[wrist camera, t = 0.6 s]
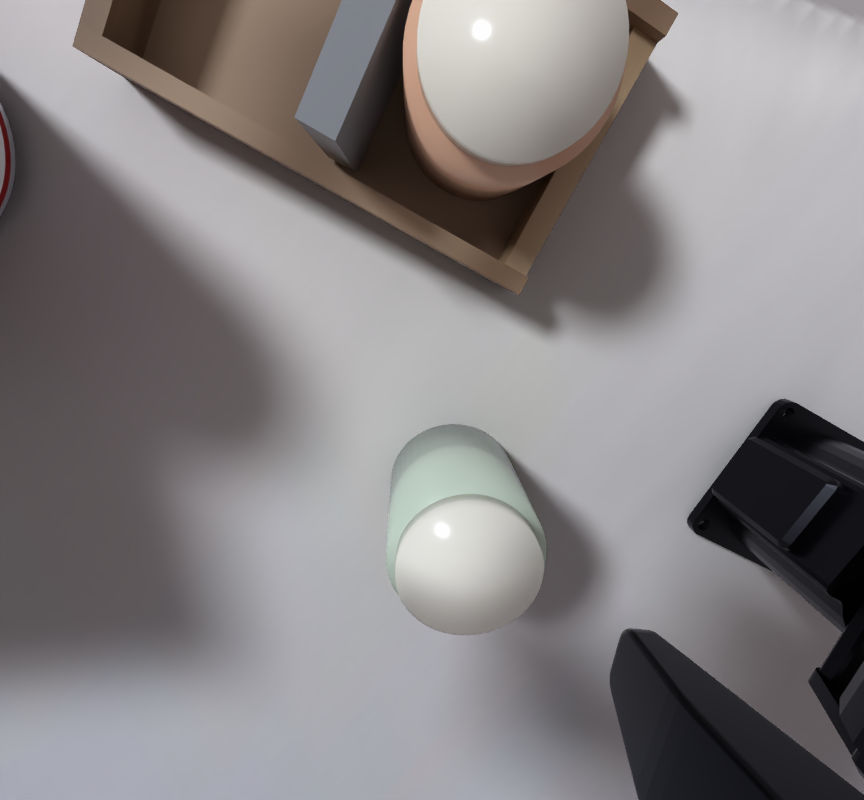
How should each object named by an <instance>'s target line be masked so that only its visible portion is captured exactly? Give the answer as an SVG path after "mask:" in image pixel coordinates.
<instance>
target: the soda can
mask: <svg viewBox="0 0 864 800" xmlns="http://www.w3.org/2000/svg"><path fill="white" fill-rule="evenodd" d="M14 178H15V149H14V141H13V137H12V132H11V128H10V125H9V122H8V119H7V116H6V113H5V111H4V108H3V106H2V104H1V102H0V215H1V214H2V212H3V210H4V209H5V207H6V205H7V202H8V200H9V198H10V195H11V192H12V188H13V183H14Z"/></svg>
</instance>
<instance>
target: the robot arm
mask: <svg viewBox="0 0 864 800" xmlns="http://www.w3.org/2000/svg"><path fill="white" fill-rule="evenodd" d="M785 409H787V412H786V414H785V415H784V416H782V413H783V411H784V410H785ZM704 519H705V520H704ZM701 520H704V522H703V523H702V524H700V525H698V524H699V522H700V521H701ZM687 523H688V526H689V527H690V528H691V529H692V530H693V531H694V532H695V533H696V534H698V535H700V536H702V537H704V538H706V539H708V540H710V541H712V542H714V543H716V544H718V545H720V546H722V547H724V548H727V549H729V550H731V551H733V552H735V553H737V554H739V555H741V556H743V557H745V558H747V559H749V560H751V561H753V562H755V563H757V564H759V565H761V566H763V567H765V568H767V569H769V570H771V571H773V572H774V573H776V574H777V575H778V576H779V577H780V578H781V579H782V580H783V581H785V582H786V583H787V584H788V585H789V586H790V587H791V588H793V589H794V590H795V591H796V592H797V593H798V594H799V595H800V596H802V597H803V598H804V599H805V600H806V601H807V602H808V603H810V604H811V605H812V606H813V607H814V608H815V609H816V610H817V611H819V612H820V613H821V614H822V615H823V616H824V617H825V618H827V619H828V620H829V621H830V622H831V623H832V624H833V625H834V626H836V627H837V628H838V629H839V630H840V631H841V632H842V634H841V636H840V637H839V639H838V641H837V642H836V644H835V645H834V647H833V649H832V650H831V652H830V654H829V655H828V657H827V658H826V660H825V662H824V663H823V665H822V666H821V668H816V669H815V671H814V672H813V674H812V676H811V677H810V679H809V680H808V682H809V684H810V686H811V687H812V689H813V691H814V692H815V694H816V696H817V697H818V699H819V701H820V703H821V704H822V706H823V708H824V709H825V711H826V713H827V714H828V716H829V718H830V720H831V721H832V723H833V725H834V726H835V728H836V730H837V731H838V733H839V735H840V736H841V738H842V740H843V742H844V743H845V745H846V747H847V748H848V750H849V752H850V753H851V755H852V759H853V761H854V763H855V765H856V768H857V770H858V771H859V773H860V774H861V775H862V777H863V778H864V442H863V441H861V440H859V439H857V438H856V437H854V436H852V435H850V434H849V433H847V432H845V431H844V430H842V429H840V428H838V427H837V426H835V425H833V424H831V423H830V422H828V421H826V420H825V419H823V418H821V417H819V416H818V415H816V414H814V413H812V412H811V411H809V410H807V409H806V408H804V407H802V406H800V405H799V404H797V403H795V402H792V401H790V400H787V399H780V400H778V401H776V402H774V403H773V404H772V405H771V407H770V408H769V409H768V411H767V412H766V413H765V415H764V416H763V417H762V419H761V420H760V421H759V423H758V424H757V425H756V427H755V428H754V429H753V431H752V432H751V433H750V435H749V436H748V437H747V439H746V440H745V441H744V443H743V444H742V445H741V447H740V448H739V449H738V451H737V452H736V453H735V455H734V456H733V457H732V459H731V460H730V461H729V463H728V464H727V465H726V467H725V468H724V469H723V471H722V472H721V474H720V475H719V476H718V478H717V479H716V480H715V482H714V483H713V484H712V486H711V487H710V488H709V490H708V491H707V492H706V494H705V495H704V496H703V498H702V499H701V500H700V502H699V503H698V504H697V506H696V507H695V508H694V510H693V511H692V512H691V514H690V515H689V517H688V519H687ZM610 688H611V693H612V697H613V701H614V705H615V709H616V713H617V717H618V721H619V725H620V729H621V733H622V737H623V741H624V745H625V749H626V753H627V757H628V761H629V764H630V768H631V772H632V776H633V780H634V784H635V788H636V792H637V796H638V799H639V800H864V795H863V794H862V793H861V792H859V791H858V790H857V789H855V788H854V787H853V786H852V785H850V784H849V783H848V782H846V781H845V780H844V779H843V778H841V777H840V776H839V775H837V774H836V773H835V772H834V771H832V770H831V769H830V768H829V767H827V766H826V765H825V764H823V763H822V762H821V761H820V760H818V759H817V758H816V757H814V756H813V755H812V754H811V753H809V752H808V751H807V750H805V749H804V748H803V747H802V746H800V745H799V744H798V743H796V742H795V741H794V740H793V739H791V738H790V737H789V736H788V735H786V734H785V733H784V732H782V731H781V730H780V729H779V728H777V727H776V726H775V725H773V724H772V723H771V722H770V721H768V720H767V719H766V718H764V717H763V716H762V715H761V714H759V713H758V712H757V711H755V710H754V709H753V708H752V707H750V706H749V705H748V704H747V703H745V702H744V701H743V700H741V699H740V698H739V697H738V696H736V695H735V694H734V693H732V692H731V691H730V690H729V689H727V688H726V687H725V686H723V685H722V684H721V683H720V682H718V681H717V680H716V679H714V678H713V677H712V676H711V675H709V674H708V673H707V672H706V671H704V670H703V669H702V668H700V667H699V666H698V665H697V664H695V663H694V662H693V661H691V660H690V659H689V658H688V657H686V656H685V655H684V654H682V653H681V652H680V651H679V650H677V649H676V648H675V647H674V646H672V645H671V644H670V643H668V642H667V641H666V640H665V639H663V638H662V637H661V636H659V635H658V634H657V633H655V632H653V631H650V630H641V629H626V630H624V631H623V633H622V634H621V637H620V640H619V643H618V647H617V650H616V654H615V657H614V661H613V664H612V668H611V672H610Z"/></svg>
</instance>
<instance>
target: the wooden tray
mask: <svg viewBox="0 0 864 800" xmlns="http://www.w3.org/2000/svg"><path fill="white" fill-rule="evenodd" d="M341 1H342V0H86V1H85V4H84V8H83V11H82V15H81V18H80V22H79V25H78V29H77V32H76V36H75V39H74V43H73V47H75V48H76V49H78V50H80V51H81V52H83V53H85V54H86V55H88V56H90V57H91V58H93V59H95V60H96V61H98V62H99V63H101V64H103V65H104V66H106V67H108V68H109V69H111V70H113V71H114V72H116V73H118V74H119V75H121V76H123V77H124V78H126V79H128V80H130V81H132V82H133V83H135V84H137V85H139V86H141V87H142V88H144V89H146V90H148V91H150V92H151V93H153V94H155V95H157V96H159V97H160V98H162V99H164V100H166V101H168V102H169V103H171V104H173V105H175V106H177V107H178V108H180V109H182V110H184V111H186V112H187V113H189V114H191V115H193V116H195V117H196V118H198V119H200V120H202V121H204V122H205V123H207V124H209V125H211V126H213V127H214V128H216V129H218V130H220V131H222V132H223V133H225V134H227V135H229V136H231V137H232V138H234V139H236V140H238V141H240V142H241V143H243V144H245V145H247V146H249V147H250V148H252V149H254V150H256V151H258V152H259V153H261V154H263V155H265V156H267V157H268V158H270V159H272V160H274V161H276V162H278V163H279V164H281V165H283V166H285V167H287V168H288V169H290V170H292V171H294V172H296V173H297V174H299V175H301V176H303V177H305V178H306V179H308V180H310V181H312V182H314V183H315V184H317V185H319V186H321V187H323V188H324V189H326V190H328V191H330V192H332V193H333V194H335V195H337V196H339V197H341V198H342V199H344V200H346V201H348V202H350V203H351V204H353V205H355V206H357V207H359V208H360V209H362V210H364V211H366V212H368V213H369V214H371V215H373V216H375V217H377V218H378V219H380V220H382V221H384V222H386V223H387V224H389V225H391V226H393V227H395V228H396V229H398V230H400V231H402V232H404V233H405V234H407V235H409V236H411V237H413V238H414V239H416V240H418V241H420V242H422V243H423V244H425V245H427V246H429V247H431V248H432V249H434V250H436V251H438V252H440V253H441V254H443V255H445V256H447V257H449V258H450V259H452V260H454V261H456V262H458V263H459V264H461V265H463V266H465V267H467V268H468V269H470V270H472V271H474V272H476V273H477V274H479V275H481V276H483V277H485V278H486V279H488V280H490V281H492V282H494V283H495V284H497V285H499V286H501V287H503V288H504V289H507V290H509V291H511V292H514V293H516V294H519V295H520V293H521V291H522V289H523V287H524V286H525V284H526V282H527V280H528V279H529V277H527V276H526V275H527V273H528V271H529V269H530V268H531V266H532V264H533V262H534V261H535V259H536V257H537V255H538V253H539V252H540V250H541V248H542V246H543V245H544V243H545V241H546V239H547V238H548V236H549V234H550V232H551V230H552V229H553V227H554V225H555V223H556V222H557V220H558V218H559V216H560V214H561V213H562V211H563V209H564V207H565V206H566V204H567V202H568V200H569V198H570V197H571V195H572V193H573V191H574V190H575V188H576V186H577V184H578V182H579V181H580V179H581V177H582V175H583V174H584V172H585V170H586V168H587V167H588V165H589V163H590V161H591V159H592V158H593V156H594V154H595V152H596V151H597V149H598V147H599V145H600V143H601V142H602V140H603V138H604V136H605V135H606V133H607V131H608V129H609V127H610V126H611V124H612V122H613V120H614V119H615V117H616V115H617V113H618V111H619V110H620V108H621V106H622V104H623V103H624V101H625V99H626V97H627V96H628V94H629V92H630V90H631V88H632V87H633V85H634V83H635V81H636V80H637V78H638V76H639V74H640V72H641V71H642V69H643V67H644V65H645V64H646V62H647V60H648V58H649V56H650V55H651V53H652V51H653V49H654V48H655V46H656V44H657V43H658V42H659V41H660V40H661V39H663V38H664V37H665V36H666V35H667V33H668V31H669V29H670V28H671V26H672V24H673V22H674V20H675V19H676V17H677V15H678V13H677V12H676V11H675V10H673V9H672V8H670V7H669V6H668V5H666V4H665V3H664V2H662V1H661V0H626V4H627V8H628V19H629V44H628V52H627V59H626V64H625V72H624V76H623V81H622V85H621V89H620V92H619V94H618V97H617V100H616V103H615V105H614V107H613V109H612V111H611V113H610V115H609V118H608V119H607V121H606V123H605V124H604V126H603V127H602V129H601V130H600V132H599V133H598V134H597V136H596V137H595V138H594V139H593V141H592V142H591V143H590V144H589V145H588V146H587V147H586V148H585V149H584V150H583V151H582V152H581V153H580V154H579V155H578V156H576V157H575V158H574V159H572V160H571V161H570V162H568V163H567V164H565V165H563V166H562V167H560V168H558V169H556V170H555V171H553V172H551V173H549V174H547V175H545V176H543V177H541V178H539V179H538V180H536V181H534V182H532V183H530V184H528V185H526V186H524V187H522V188H520V189H519V190H517V191H515V192H513V193H511V194H509V195H506V196H504V197H501V198H497V199H493V200H486V201H472V200H466V199H462V198H459V197H456V196H453V195H451V194H449V193H447V192H445V191H443V190H442V189H440V188H439V187H437V186H436V185H435V184H434V183H433V182H432V181H431V180H429V179H428V177H427V176H426V175H425V174H424V173H423V172H422V170H421V169H420V167H419V166H418V164H417V163H416V161H415V159H414V157H413V155H412V153H411V150H410V147H409V144H408V141H407V136H406V132H405V123H404V90H403V71H402V73H401V75H400V78H399V80H398V82H397V84H396V87H395V89H394V91H393V93H392V96H391V98H390V100H389V102H388V104H387V107H386V109H385V111H384V113H383V116H382V118H381V120H380V122H379V125H378V127H377V129H376V131H375V133H374V136H373V138H372V140H371V142H370V145H369V147H368V149H367V151H366V154H365V156H364V158H363V160H362V162H361V165H360V167H359V169H358V171H357V173H355V172H354V171H352V170H350V169H348V168H347V167H345V166H343V165H341V164H340V163H338V162H336V161H334V160H333V159H331V158H329V157H328V156H327V155H326V154H325V153H324V151H323V150H322V149H321V148H320V147H319V146H318V144H317V143H316V142H315V141H314V140H313V139H312V137H311V136H310V135H309V134H308V133H307V132H306V130H305V129H304V128H303V127H302V126H301V125H300V123H299V122H298V121H297V120H296V119H295V118H294V117H295V115H296V112H297V110H298V107H299V105H300V102H301V100H302V97H303V95H304V92H305V90H306V87H307V85H308V82H309V80H310V78H311V75H312V73H313V70H314V68H315V65H316V63H317V60H318V58H319V55H320V53H321V50H322V48H323V45H324V43H325V40H326V38H327V36H328V33H329V31H330V28H331V26H332V23H333V21H334V18H335V16H336V13H337V11H338V8H339V6H340V3H341Z"/></svg>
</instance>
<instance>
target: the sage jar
mask: <svg viewBox="0 0 864 800" xmlns="http://www.w3.org/2000/svg"><path fill="white" fill-rule="evenodd" d="M546 556H547V544H546V539H545V534H544V531H543V529H542V526H541V524H540V522H539V520H538V518H537V516H536V514H535V512H534V510H533V507H532V505H531V503H530V501H529V499H528V497H527V495H526V493H525V491H524V489H523V487H522V485H521V483H520V481H519V479H518V477H517V475H516V472H515V470H514V468H513V466H512V464H511V462H510V460H509V458H508V456H507V454H506V452H505V451H504V449H503V448H502V447H501V445H500V444H499V443H498V442H497V441H496V440H495V439H494V438H492V437H491V436H490V435H489V434H487V433H485V432H483V431H481V430H479V429H477V428H474V427H470V426H466V425H456V424H450V425H442V426H438V427H434V428H431V429H428V430H426V431H424V432H422V433H420V434H419V435H417V436H416V437H414V438H413V439H412V440H411V441H409V442H408V443H407V444H406V445H405V447H404V448H403V449H402V450H401V452H400V453H399V455H398V456H397V459H396V461H395V463H394V466H393V469H392V475H391V486H390V501H389V516H388V531H387V546H386V566H387V572H388V576H389V579H390V581H391V583H392V586H393V588H394V589H395V591H396V592H397V594H398V595H399V597H400V599H401V601H402V603H403V604H404V606H405V607H406V609H407V610H408V611H409V612H410V613H411V614H412V615H413V616H414V617H415V618H416V619H417V620H419V621H420V622H422V623H423V624H425V625H426V626H428V627H430V628H432V629H435V630H437V631H441V632H444V633H448V634H454V635H476V634H482V633H487V632H491V631H493V630H496V629H499V628H501V627H503V626H505V625H507V624H509V623H511V622H512V621H514V620H515V619H517V618H518V617H519V616H520V615H522V614H523V613H524V612H525V611H526V610H527V609H528V608H529V606H530V605H531V604H532V602H533V601H534V599H535V598H536V596H537V594H538V592H539V590H540V587H541V585H542V581H543V576H544V567H545V563H546Z"/></svg>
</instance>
